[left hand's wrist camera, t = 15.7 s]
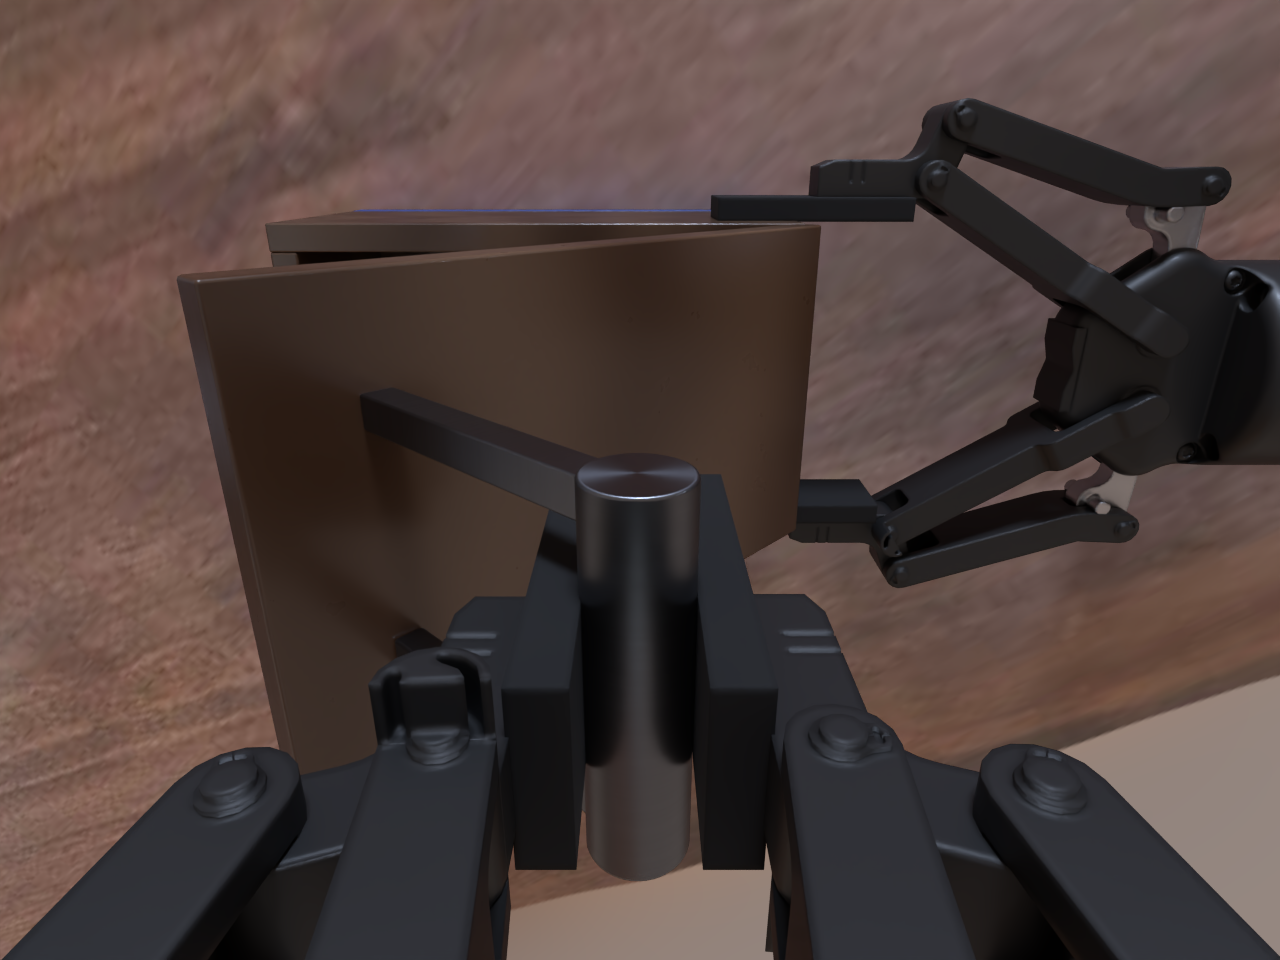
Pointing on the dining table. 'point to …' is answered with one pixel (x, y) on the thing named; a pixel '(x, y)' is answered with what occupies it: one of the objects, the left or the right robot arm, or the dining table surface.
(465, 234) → the chest
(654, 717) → the lid
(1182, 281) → the right robot arm
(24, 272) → the dining table surface
